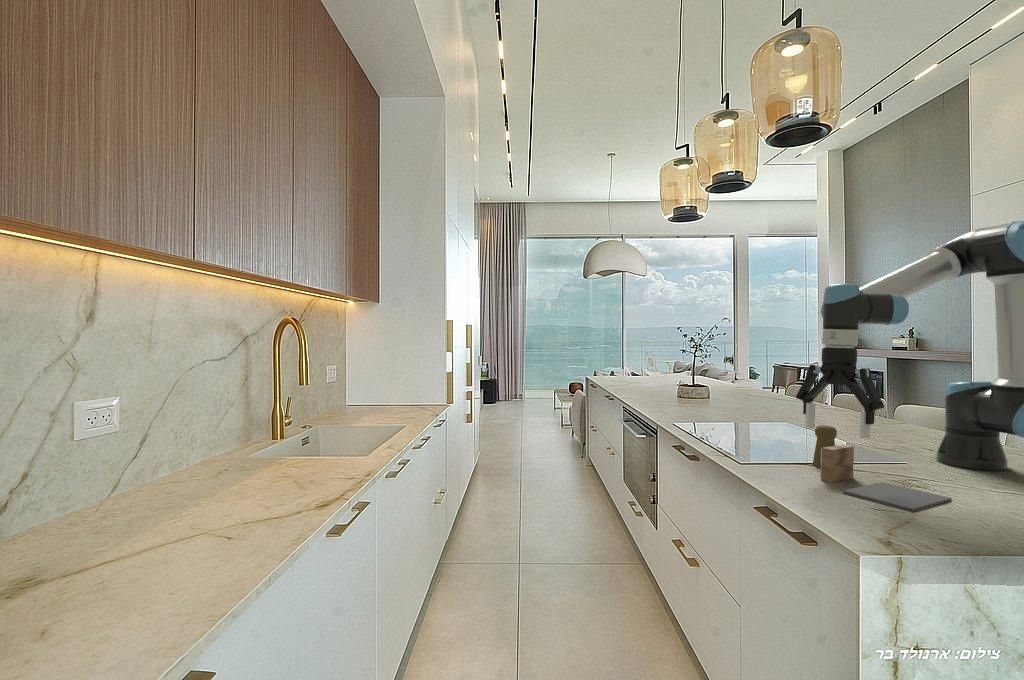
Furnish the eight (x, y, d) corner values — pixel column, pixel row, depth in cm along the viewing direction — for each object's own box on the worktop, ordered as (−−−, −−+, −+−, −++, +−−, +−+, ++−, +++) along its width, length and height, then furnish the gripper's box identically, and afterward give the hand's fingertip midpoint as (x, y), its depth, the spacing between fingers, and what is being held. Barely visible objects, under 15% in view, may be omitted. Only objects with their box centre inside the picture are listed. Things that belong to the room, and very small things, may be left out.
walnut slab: (840, 475, 139) (841, 444, 139) (853, 478, 136) (853, 446, 136) (819, 479, 135) (820, 447, 134) (831, 482, 132) (832, 449, 132)
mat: (882, 484, 131) (882, 481, 131) (951, 500, 118) (951, 498, 118) (843, 493, 123) (843, 490, 123) (912, 511, 111) (913, 508, 111)
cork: (813, 467, 146) (814, 426, 146) (810, 462, 152) (811, 423, 152) (839, 470, 144) (840, 428, 144) (835, 464, 150) (836, 424, 150)
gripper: (783, 345, 144) (780, 425, 144) (885, 349, 122) (882, 443, 122) (801, 345, 148) (798, 423, 148) (903, 349, 126) (899, 441, 126)
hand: (836, 432), depth 135 cm, fingers open, 13 cm apart
